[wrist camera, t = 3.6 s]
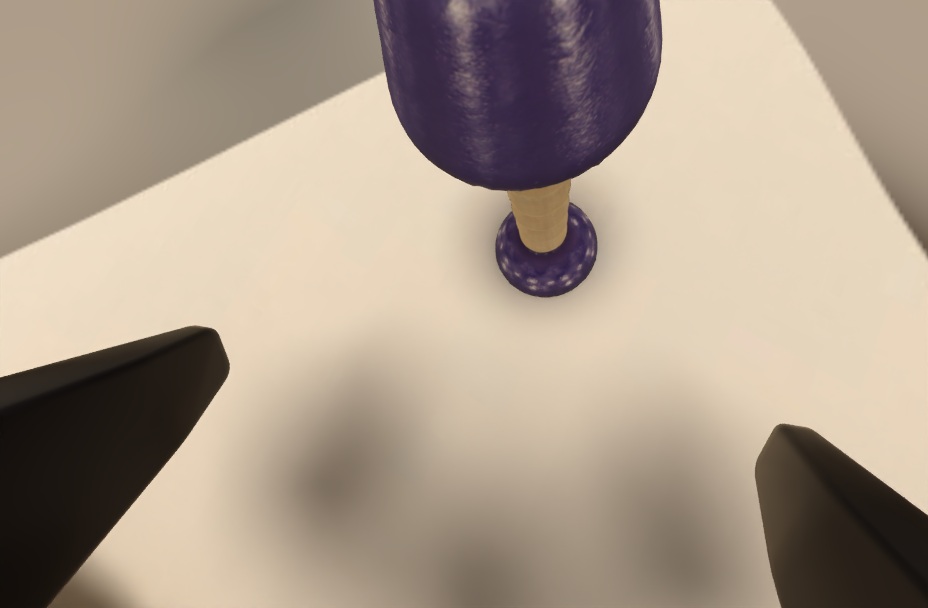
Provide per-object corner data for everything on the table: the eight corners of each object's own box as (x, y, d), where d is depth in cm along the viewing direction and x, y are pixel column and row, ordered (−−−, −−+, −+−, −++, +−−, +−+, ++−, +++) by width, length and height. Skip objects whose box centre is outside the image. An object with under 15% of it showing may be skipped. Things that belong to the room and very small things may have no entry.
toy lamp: (591, 315, 20) (736, 26, 4) (479, 304, 21) (246, 33, 5) (601, 203, 21) (755, -407, 5) (492, 198, 22) (322, -336, 6)
